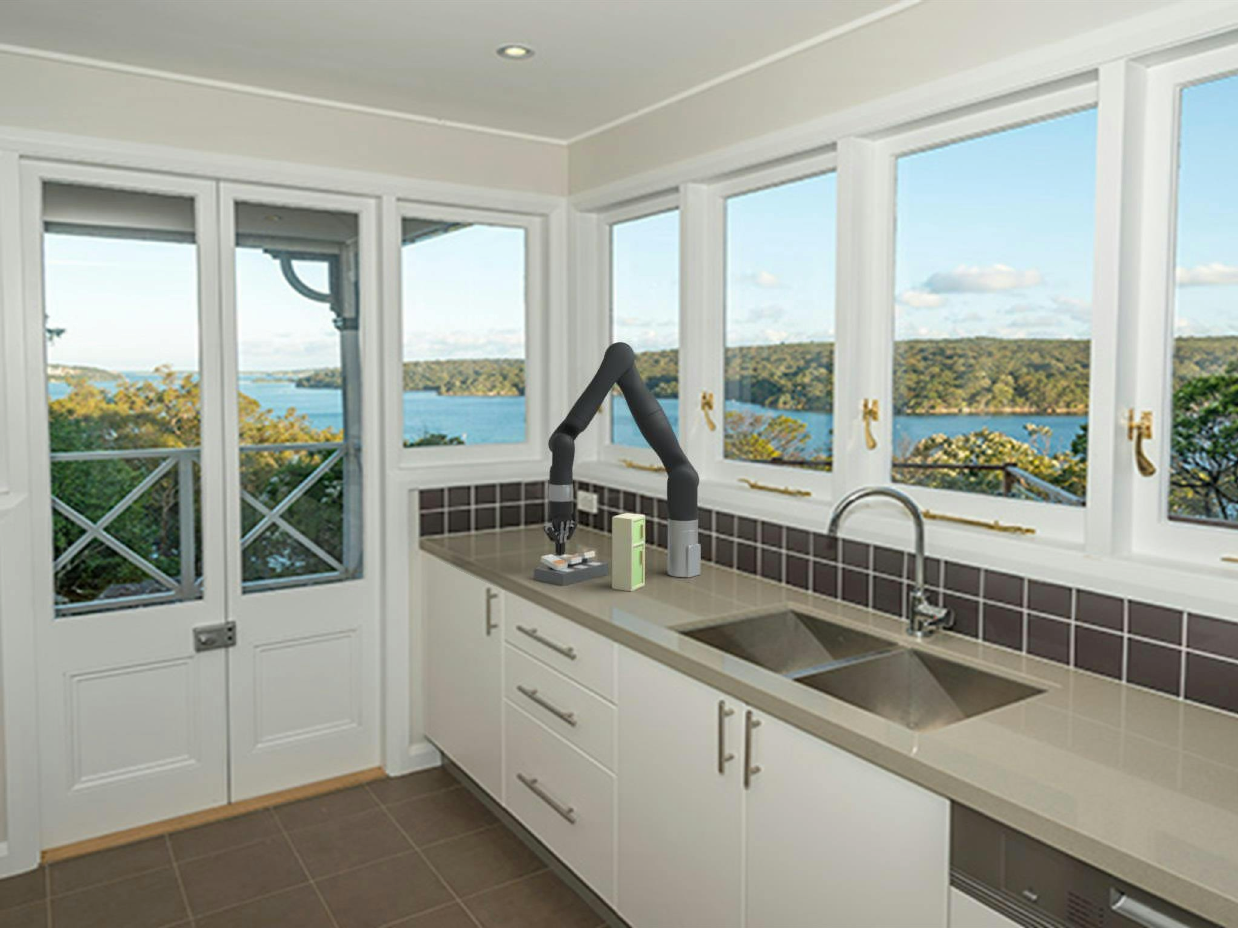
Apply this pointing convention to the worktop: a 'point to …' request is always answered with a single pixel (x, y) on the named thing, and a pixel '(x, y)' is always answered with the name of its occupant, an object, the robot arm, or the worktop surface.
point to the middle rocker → (570, 558)
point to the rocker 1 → (554, 562)
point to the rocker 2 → (586, 554)
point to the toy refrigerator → (628, 551)
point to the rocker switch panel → (572, 572)
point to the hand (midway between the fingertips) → (560, 554)
